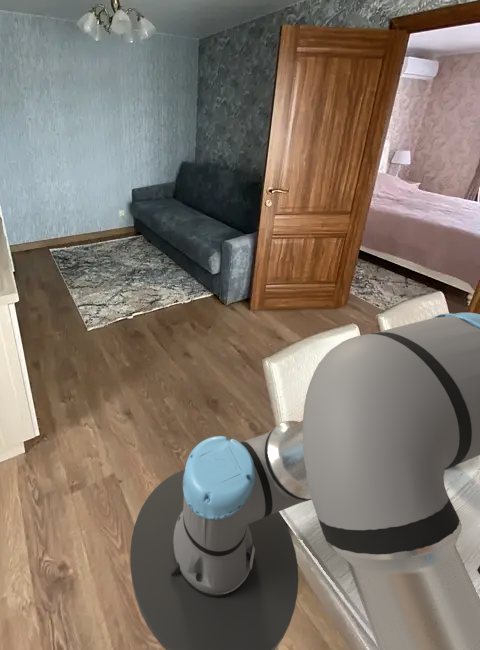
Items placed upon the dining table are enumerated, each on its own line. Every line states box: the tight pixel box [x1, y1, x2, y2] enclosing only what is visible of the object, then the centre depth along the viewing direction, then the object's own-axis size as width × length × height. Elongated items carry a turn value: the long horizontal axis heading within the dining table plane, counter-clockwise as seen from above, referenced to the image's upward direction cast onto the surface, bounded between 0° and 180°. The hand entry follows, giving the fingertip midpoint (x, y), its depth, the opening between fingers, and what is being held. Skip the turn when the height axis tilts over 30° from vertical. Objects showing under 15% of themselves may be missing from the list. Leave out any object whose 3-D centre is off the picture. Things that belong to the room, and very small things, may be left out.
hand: (433, 561), depth 49 cm, fingers open, 13 cm apart
